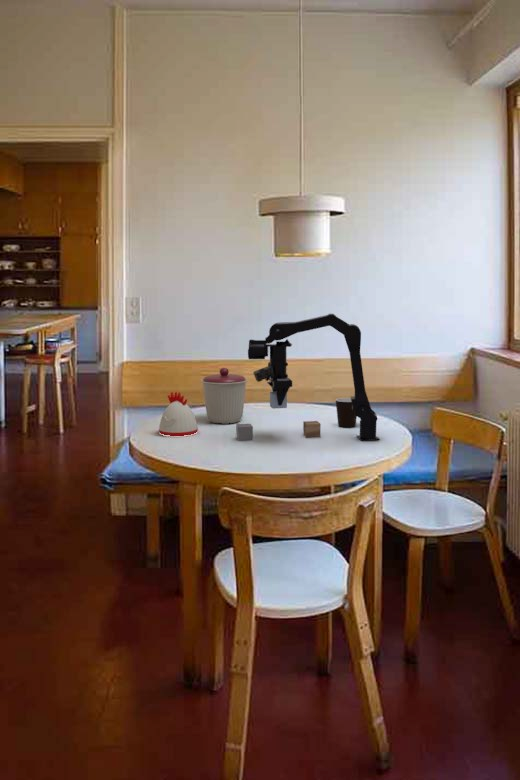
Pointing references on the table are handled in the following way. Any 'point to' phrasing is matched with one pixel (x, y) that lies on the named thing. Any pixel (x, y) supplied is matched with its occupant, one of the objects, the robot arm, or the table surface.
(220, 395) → the canister
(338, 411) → the coffee mug
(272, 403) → the slate blue block
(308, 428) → the walnut block
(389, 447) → the table surface
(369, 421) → the robot arm
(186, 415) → the kitchen timer
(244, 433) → the charcoal block
